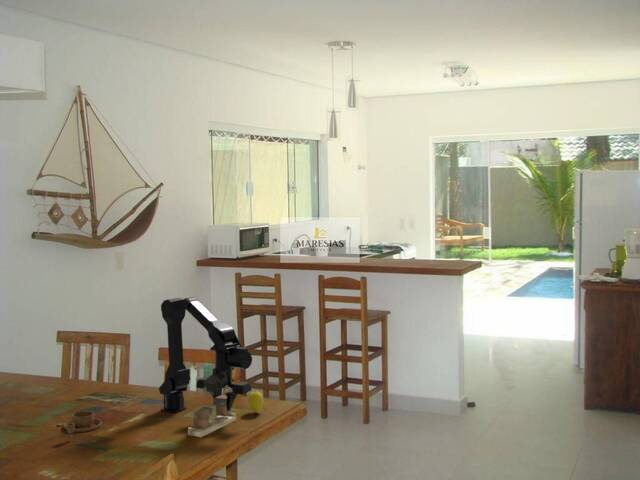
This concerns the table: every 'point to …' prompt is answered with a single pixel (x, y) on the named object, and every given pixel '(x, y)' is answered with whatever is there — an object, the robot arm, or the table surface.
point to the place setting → (81, 422)
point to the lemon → (255, 401)
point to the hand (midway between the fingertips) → (223, 410)
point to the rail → (216, 426)
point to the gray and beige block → (221, 405)
